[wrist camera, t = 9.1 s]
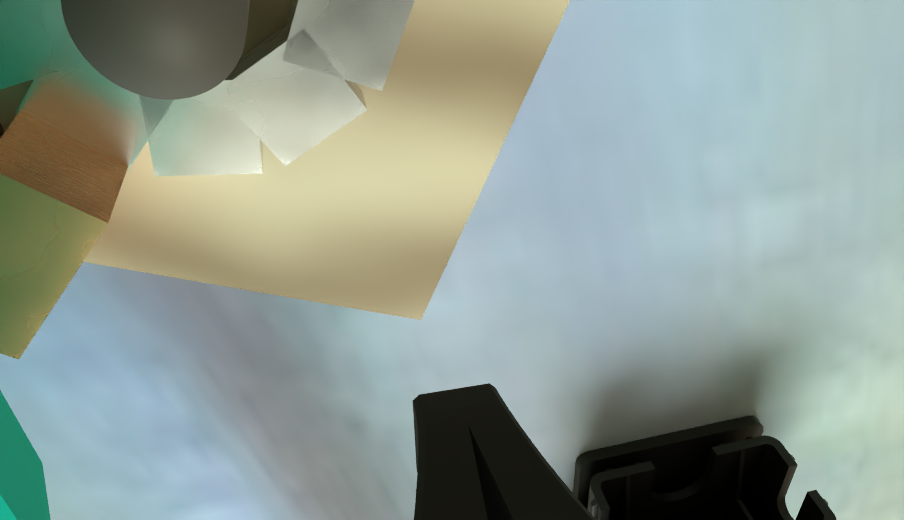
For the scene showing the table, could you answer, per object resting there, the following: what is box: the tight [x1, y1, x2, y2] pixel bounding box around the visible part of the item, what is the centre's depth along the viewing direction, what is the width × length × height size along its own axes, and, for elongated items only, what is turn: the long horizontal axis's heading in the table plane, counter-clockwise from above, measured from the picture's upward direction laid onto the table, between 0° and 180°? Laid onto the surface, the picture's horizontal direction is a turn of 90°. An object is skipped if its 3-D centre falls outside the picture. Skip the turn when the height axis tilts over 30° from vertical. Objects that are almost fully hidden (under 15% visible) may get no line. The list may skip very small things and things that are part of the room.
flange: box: [0, 0, 415, 359], centre depth 14 cm, size 14×10×4 cm
